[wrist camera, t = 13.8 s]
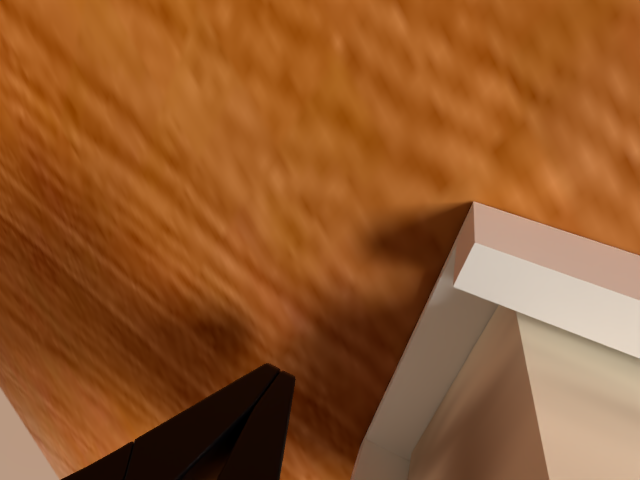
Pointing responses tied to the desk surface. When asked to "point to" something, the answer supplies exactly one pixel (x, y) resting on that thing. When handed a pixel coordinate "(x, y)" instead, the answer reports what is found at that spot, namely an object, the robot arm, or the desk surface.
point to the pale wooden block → (535, 409)
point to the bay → (480, 304)
